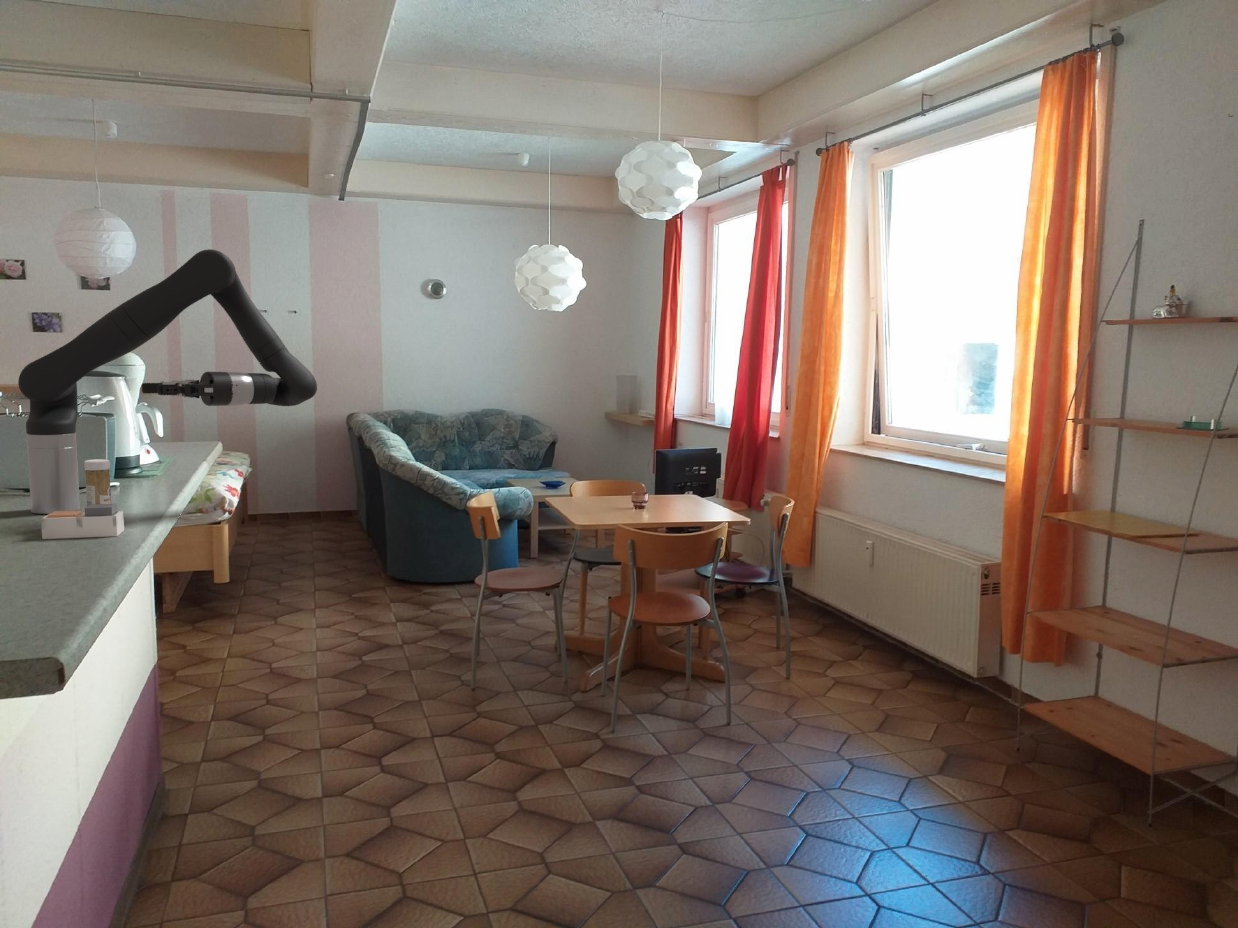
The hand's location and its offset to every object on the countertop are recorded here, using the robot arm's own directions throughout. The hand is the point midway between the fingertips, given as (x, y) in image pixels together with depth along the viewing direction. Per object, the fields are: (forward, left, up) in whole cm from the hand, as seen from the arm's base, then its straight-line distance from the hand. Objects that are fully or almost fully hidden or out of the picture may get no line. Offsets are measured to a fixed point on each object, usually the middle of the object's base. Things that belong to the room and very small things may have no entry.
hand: (150, 389), depth 189 cm
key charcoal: (+15, -7, -24) cm, 29 cm away
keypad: (+15, -10, -28) cm, 33 cm away
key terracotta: (+15, -13, -25) cm, 32 cm away
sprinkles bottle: (+5, -9, -28) cm, 30 cm away
